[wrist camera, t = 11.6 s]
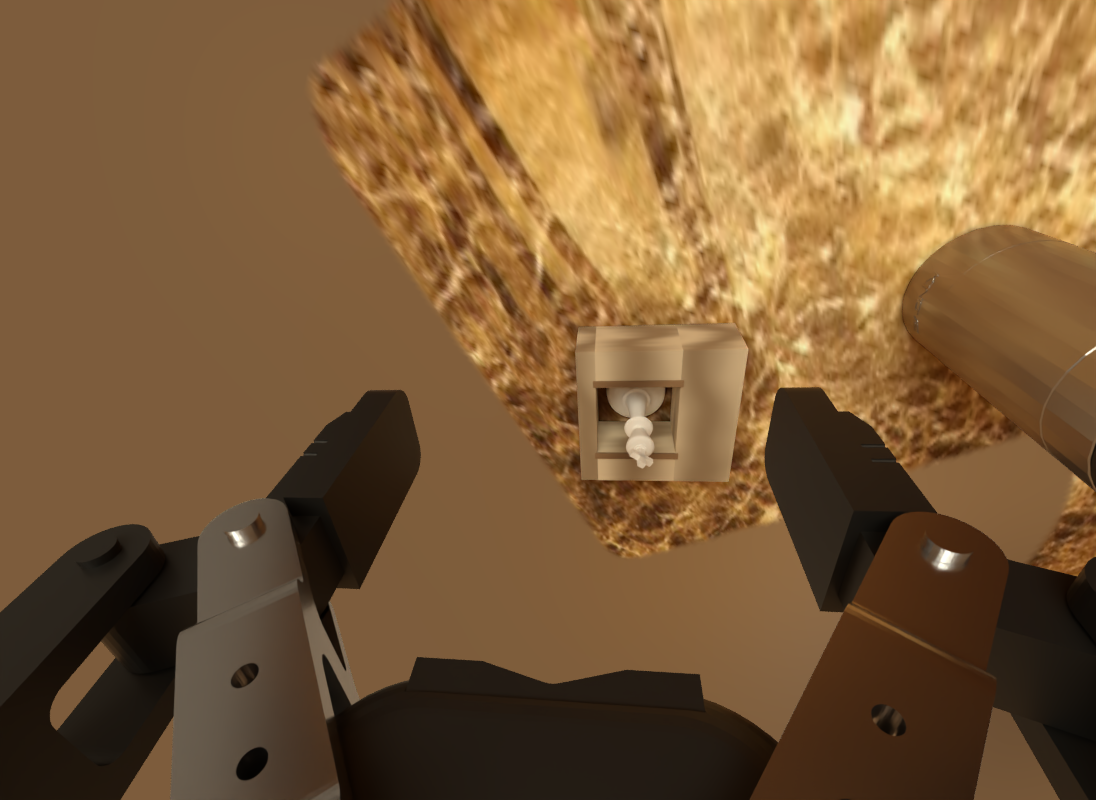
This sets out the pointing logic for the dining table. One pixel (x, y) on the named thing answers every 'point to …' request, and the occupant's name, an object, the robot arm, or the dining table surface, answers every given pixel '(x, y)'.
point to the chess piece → (637, 418)
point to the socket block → (696, 405)
